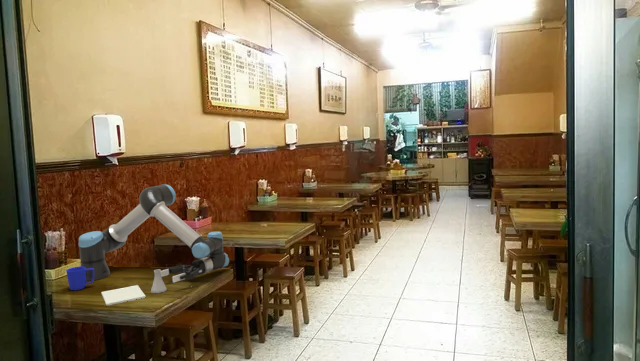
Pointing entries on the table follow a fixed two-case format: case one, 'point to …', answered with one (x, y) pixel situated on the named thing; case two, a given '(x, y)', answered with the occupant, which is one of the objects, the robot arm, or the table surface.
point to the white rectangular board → (122, 295)
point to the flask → (158, 283)
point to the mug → (78, 277)
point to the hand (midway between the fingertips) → (164, 277)
